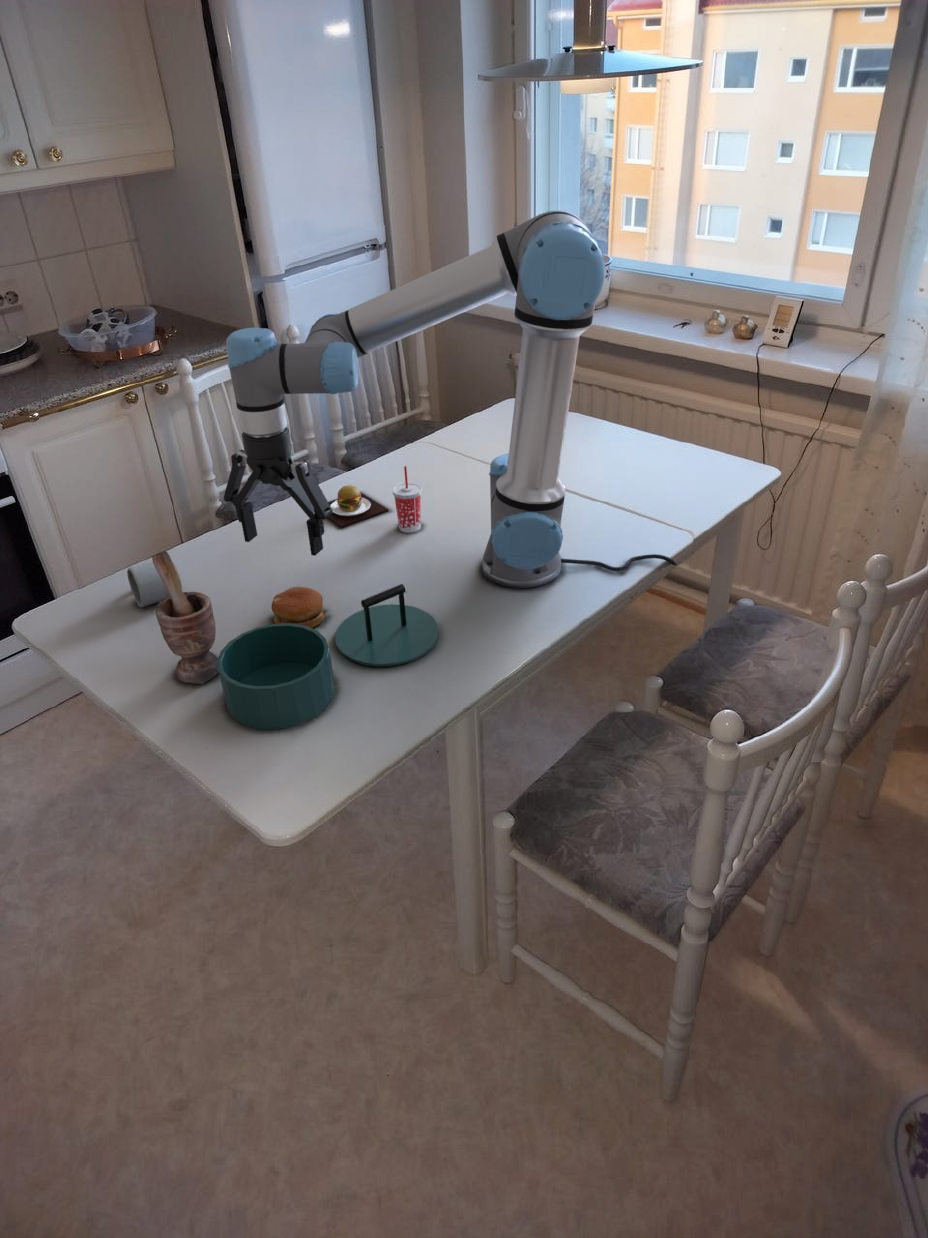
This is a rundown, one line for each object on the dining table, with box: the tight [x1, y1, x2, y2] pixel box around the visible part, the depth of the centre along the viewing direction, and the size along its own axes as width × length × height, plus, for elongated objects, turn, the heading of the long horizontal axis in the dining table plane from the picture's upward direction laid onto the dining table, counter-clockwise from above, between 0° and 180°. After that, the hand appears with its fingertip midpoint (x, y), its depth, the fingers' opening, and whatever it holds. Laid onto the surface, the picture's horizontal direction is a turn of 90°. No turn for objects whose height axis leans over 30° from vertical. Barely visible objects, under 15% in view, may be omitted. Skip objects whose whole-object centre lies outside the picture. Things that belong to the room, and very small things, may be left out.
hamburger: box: [326, 484, 389, 529], centre depth 190 cm, size 12×12×6 cm
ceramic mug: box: [126, 561, 183, 608], centre depth 163 cm, size 11×8×8 cm
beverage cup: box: [391, 465, 423, 534], centre depth 180 cm, size 6×6×14 cm
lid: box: [334, 583, 440, 667], centre depth 148 cm, size 18×18×9 cm
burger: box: [270, 586, 326, 629], centre depth 156 cm, size 10×9×5 cm
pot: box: [217, 623, 335, 731], centre depth 137 cm, size 17×17×8 cm
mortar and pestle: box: [151, 550, 219, 685], centre depth 140 cm, size 12×9×20 cm
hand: (283, 545), depth 151 cm, fingers open, 13 cm apart
